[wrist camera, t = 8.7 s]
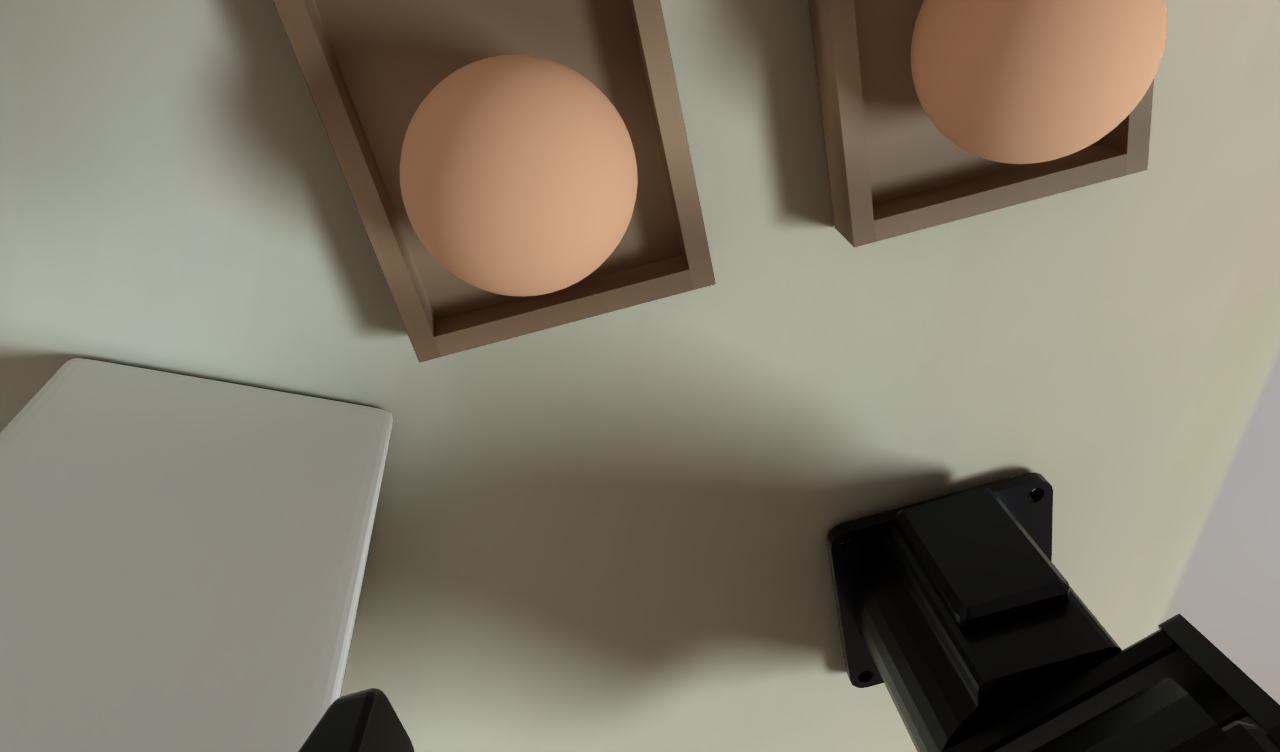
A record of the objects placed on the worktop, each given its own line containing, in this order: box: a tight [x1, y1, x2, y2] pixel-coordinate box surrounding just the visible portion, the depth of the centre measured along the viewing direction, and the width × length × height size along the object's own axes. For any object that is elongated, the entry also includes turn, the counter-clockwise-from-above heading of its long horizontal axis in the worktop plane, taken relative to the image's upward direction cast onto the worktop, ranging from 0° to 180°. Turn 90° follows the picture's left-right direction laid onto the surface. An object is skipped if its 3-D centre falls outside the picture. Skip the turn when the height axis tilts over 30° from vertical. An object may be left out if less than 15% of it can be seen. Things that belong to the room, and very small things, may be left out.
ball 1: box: [400, 55, 638, 296], centre depth 17 cm, size 4×4×4 cm
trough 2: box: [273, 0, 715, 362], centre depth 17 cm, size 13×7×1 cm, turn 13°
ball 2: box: [911, 0, 1167, 164], centre depth 17 cm, size 4×4×4 cm
